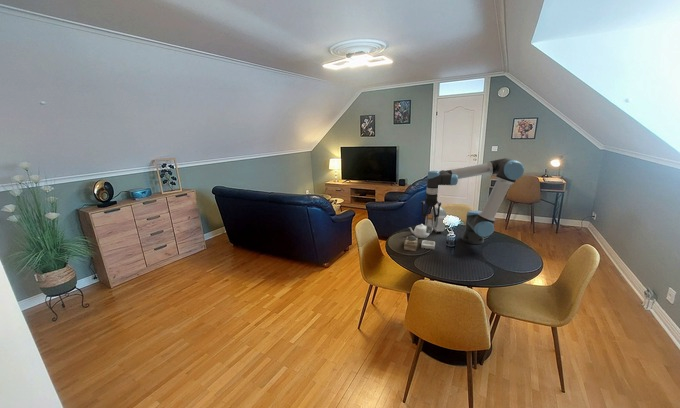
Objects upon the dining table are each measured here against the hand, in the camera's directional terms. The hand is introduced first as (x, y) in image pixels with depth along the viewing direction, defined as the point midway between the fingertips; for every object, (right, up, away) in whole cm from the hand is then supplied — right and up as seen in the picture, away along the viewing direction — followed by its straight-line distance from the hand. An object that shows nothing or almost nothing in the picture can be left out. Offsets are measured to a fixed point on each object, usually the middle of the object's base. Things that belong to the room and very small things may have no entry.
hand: (429, 225), depth 196 cm
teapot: (+1, -11, +24) cm, 26 cm away
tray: (+1, -16, +5) cm, 17 cm away
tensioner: (-12, -16, +6) cm, 21 cm away
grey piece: (+18, -7, +35) cm, 40 cm away
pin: (0, -5, +2) cm, 6 cm away
